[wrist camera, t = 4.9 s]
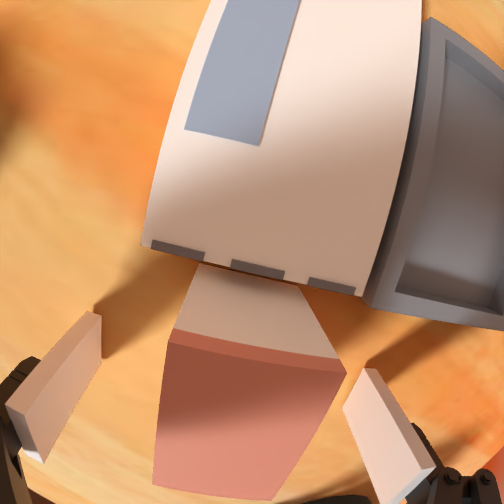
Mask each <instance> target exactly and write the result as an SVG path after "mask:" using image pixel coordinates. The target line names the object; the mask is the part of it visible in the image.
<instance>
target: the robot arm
mask: <svg viewBox="0 0 504 504" xmlns="http://www.w3.org/2000/svg"><path fill="white" fill-rule="evenodd" d="M101 329H102V316H101V315H98V314H95V313H92V312H89V311H86V313H85V314H84V315H83V316H82V317H81V318H80V319H79V320H78V321H77V322H76V323H75V324H74V325H73V326H72V327H71V328H70V329H69V330H68V331H67V333H66V334H65V335H64V336H63V337H62V338H61V339H60V340H59V341H58V342H57V343H56V345H55V346H54V347H53V348H52V349H51V350H50V351H49V352H48V353H47V355H46V356H45V357H44V358H43V359H42V360H39V359H37V358H35V357H33V356H31V357H29V358H27V359H25V360H23V361H21V362H20V363H19V364H18V365H17V367H16V368H15V369H14V370H13V371H12V372H11V373H10V374H9V377H8V376H7V377H6V379H5V380H4V381H3V382H2V383H1V384H0V504H33V503H32V501H31V497H30V494H29V491H28V488H27V484H26V481H25V477H24V473H23V469H22V465H21V461H20V457H19V455H18V452H19V450H20V448H21V447H22V448H23V450H24V452H25V454H26V455H27V456H29V457H31V458H33V459H35V460H37V461H38V462H40V463H42V464H44V462H45V461H46V459H47V457H48V455H49V453H50V451H51V449H52V447H53V445H54V444H55V442H56V440H57V438H58V436H59V435H60V433H61V431H62V429H63V427H64V426H65V424H66V422H67V420H68V419H69V417H70V415H71V413H72V412H73V410H74V408H75V406H76V405H77V403H78V401H79V400H80V398H81V396H82V395H83V393H84V391H85V390H86V388H87V386H88V385H89V383H90V381H91V380H92V378H93V376H94V375H95V373H96V372H97V370H98V368H99V367H100V365H101V364H102V363H101ZM342 410H343V412H344V414H345V417H346V419H347V422H348V424H349V427H350V429H351V432H352V434H353V436H354V439H355V441H356V444H357V446H358V449H359V451H360V454H361V456H362V459H363V461H364V464H365V466H366V469H367V471H368V474H369V476H370V479H371V482H372V484H373V487H374V489H375V492H376V494H377V497H378V500H379V502H380V504H399V503H400V502H401V501H402V500H403V499H404V498H406V500H407V503H406V504H502V503H501V498H500V494H499V489H498V486H497V482H496V478H495V476H494V475H493V473H492V472H490V471H489V470H487V469H479V470H478V471H477V472H476V473H475V474H474V475H473V476H461V474H460V473H459V472H458V471H457V470H455V469H454V468H450V467H446V468H445V467H444V466H443V464H442V462H441V461H440V459H439V457H438V456H437V454H436V453H435V451H434V449H433V448H432V446H430V443H429V441H428V440H427V439H426V436H425V435H424V433H423V432H422V430H421V429H420V428H419V427H418V426H417V425H415V424H414V423H410V421H409V420H408V418H407V417H406V415H405V413H404V412H403V410H402V409H401V407H400V405H399V404H398V402H397V401H396V399H395V397H394V396H393V394H392V393H391V391H390V390H389V388H388V386H387V385H386V383H385V382H384V380H383V379H382V377H381V375H380V374H379V372H378V371H377V369H373V368H363V370H362V372H361V374H360V376H359V378H358V380H357V381H356V383H355V385H354V387H353V389H352V391H351V393H350V394H349V396H348V398H347V400H346V402H345V403H344V405H343V407H342Z"/></svg>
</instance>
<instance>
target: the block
mask: <svg viewBox="0 0 504 504" xmlns="http://www.w3.org/2000/svg"><path fill="white" fill-rule="evenodd" d="M346 374H347V372H346V370H345V368H344V366H343V365H342V363H341V361H340V359H339V357H338V356H337V354H336V352H335V350H334V348H333V347H332V345H331V343H330V341H329V339H328V338H327V336H326V334H325V332H324V331H323V329H322V327H321V325H320V323H319V322H318V320H317V318H316V316H315V315H314V313H313V311H312V309H311V308H310V306H309V304H308V302H307V301H306V299H305V297H304V295H303V294H302V292H301V290H300V288H299V287H298V286H296V285H292V284H288V283H283V282H279V281H274V280H270V279H265V278H261V277H257V276H252V275H248V274H244V273H239V272H235V271H231V270H226V269H222V268H218V267H214V266H210V265H205V264H201V263H199V265H198V267H197V270H196V272H195V275H194V277H193V280H192V282H191V284H190V287H189V289H188V292H187V294H186V297H185V299H184V302H183V304H182V307H181V309H180V312H179V314H178V317H177V320H176V322H175V325H174V327H173V330H172V332H171V335H170V338H169V340H168V345H167V352H166V358H165V365H164V373H163V380H162V388H161V396H160V404H159V413H158V422H157V432H156V442H155V454H154V467H153V481H152V484H153V485H157V486H162V487H166V488H171V489H176V490H181V491H186V492H191V493H197V494H204V495H211V496H218V497H227V498H236V499H249V500H267V501H271V500H272V499H273V498H274V496H275V495H276V493H277V492H278V491H279V489H280V488H281V486H282V485H283V483H284V482H285V480H286V479H287V477H288V476H289V474H290V473H291V471H292V470H293V468H294V467H295V465H296V464H297V462H298V461H299V459H300V457H301V456H302V454H303V453H304V451H305V449H306V448H307V446H308V444H309V443H310V441H311V439H312V438H313V436H314V434H315V433H316V431H317V429H318V427H319V426H320V424H321V422H322V420H323V418H324V417H325V415H326V413H327V411H328V409H329V407H330V406H331V404H332V402H333V400H334V398H335V396H336V394H337V392H338V390H339V388H340V386H341V384H342V382H343V380H344V378H345V376H346Z"/></svg>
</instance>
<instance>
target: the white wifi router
mask: <svg viewBox="0 0 504 504" xmlns="http://www.w3.org/2000/svg"><path fill="white" fill-rule="evenodd" d="M421 11H422V0H211V3H210V5H209V7H208V10H207V12H206V14H205V17H204V19H203V21H202V24H201V26H200V29H199V31H198V34H197V37H196V39H195V42H194V44H193V47H192V50H191V53H190V55H189V58H188V61H187V64H186V67H185V69H184V72H183V75H182V78H181V81H180V84H179V87H178V91H177V94H176V97H175V100H174V103H173V107H172V110H171V113H170V117H169V120H168V124H167V127H166V131H165V135H164V138H163V142H162V146H161V150H160V154H159V158H158V162H157V166H156V170H155V174H154V179H153V183H152V188H151V192H150V197H149V202H148V207H147V212H146V217H145V222H144V227H143V233H142V239H141V246H145V247H149V248H151V249H153V250H157V251H161V252H165V253H170V254H174V255H178V256H182V257H186V258H190V259H194V260H198V261H202V262H203V261H206V262H210V263H214V264H219V265H223V266H227V267H230V268H232V269H236V270H240V271H245V272H249V273H253V274H258V275H262V276H266V277H271V278H275V279H279V280H288V281H292V282H297V283H301V284H306V285H308V286H311V287H315V288H320V289H324V290H329V291H334V292H338V293H343V294H348V295H352V296H354V295H356V296H361V297H362V295H363V292H364V289H365V286H366V284H367V281H368V278H369V275H370V272H371V269H372V266H373V263H374V260H375V257H376V254H377V251H378V248H379V245H380V241H381V238H382V235H383V231H384V228H385V225H386V221H387V218H388V214H389V210H390V207H391V203H392V199H393V195H394V192H395V188H396V184H397V179H398V175H399V171H400V167H401V162H402V158H403V153H404V148H405V143H406V138H407V133H408V128H409V122H410V117H411V111H412V104H413V98H414V91H415V83H416V75H417V67H418V57H419V46H420V32H421Z"/></svg>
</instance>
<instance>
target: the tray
mask: <svg viewBox="0 0 504 504" xmlns="http://www.w3.org/2000/svg"><path fill="white" fill-rule="evenodd" d="M359 297H360V298H361V299H362V300H363V301H364V302H365V304H366V305H367V306H368V307H369V308H372V309H378V310H383V311H388V312H393V313H399V314H404V315H410V316H415V317H421V318H426V319H432V320H438V321H443V322H449V323H455V324H461V325H467V326H473V327H479V328H486V329H492V330H499V331H504V71H503V70H502V69H501V68H500V67H499V66H498V65H497V64H495V63H494V62H493V61H492V60H491V59H489V58H488V57H487V56H486V55H485V54H483V53H482V52H481V51H480V50H478V49H477V48H476V47H474V46H473V45H472V44H471V43H469V42H468V41H467V40H465V39H464V38H462V37H461V36H460V35H458V34H457V33H455V32H454V31H452V30H451V29H450V28H448V27H447V26H445V25H444V24H442V23H440V22H439V21H437V20H436V19H434V18H432V17H430V18H429V19H427V20H426V21H424V22H423V23H422V24H421V32H420V46H419V57H418V67H417V75H416V83H415V91H414V98H413V104H412V111H411V117H410V122H409V128H408V133H407V138H406V143H405V148H404V153H403V158H402V162H401V167H400V171H399V175H398V179H397V184H396V188H395V192H394V195H393V199H392V203H391V207H390V210H389V214H388V218H387V221H386V225H385V228H384V231H383V235H382V238H381V241H380V245H379V248H378V251H377V254H376V257H375V260H374V263H373V266H372V269H371V272H370V275H369V278H368V281H367V284H366V286H365V289H364V292H363V295H362V297H361V296H359Z"/></svg>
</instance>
